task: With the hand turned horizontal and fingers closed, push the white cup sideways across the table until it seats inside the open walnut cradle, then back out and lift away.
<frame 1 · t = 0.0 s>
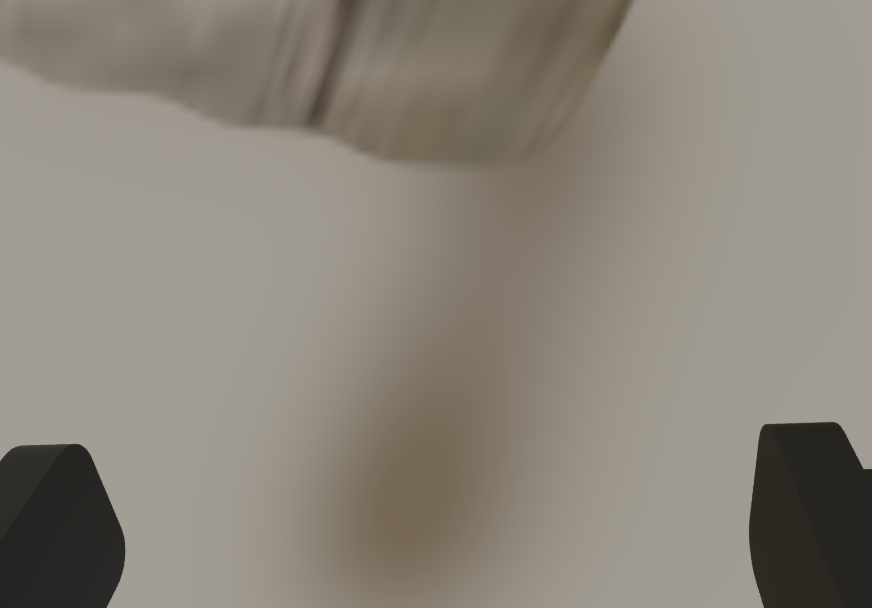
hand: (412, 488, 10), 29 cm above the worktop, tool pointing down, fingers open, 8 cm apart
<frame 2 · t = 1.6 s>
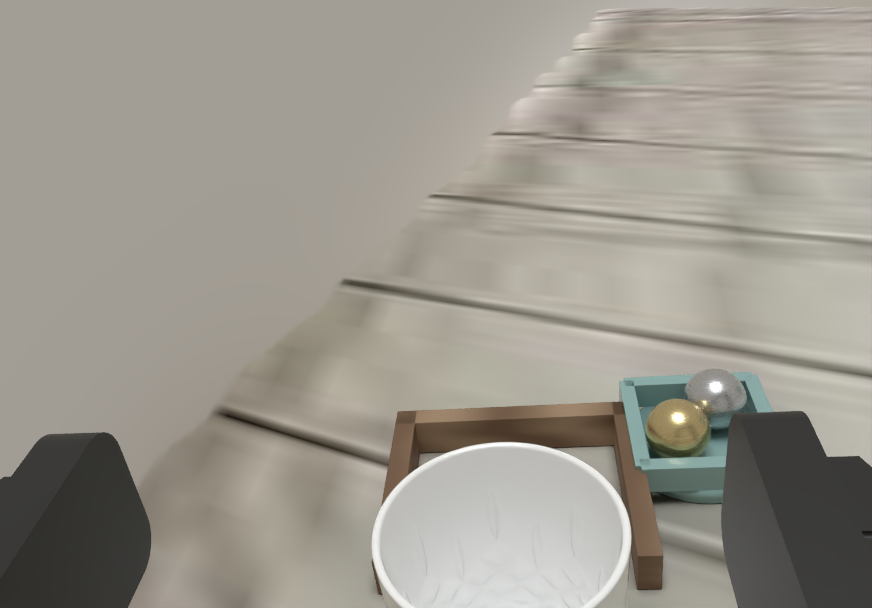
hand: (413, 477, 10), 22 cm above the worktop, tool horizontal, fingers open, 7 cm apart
cradle: (516, 517, 39), on the worktop
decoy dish: (697, 452, 42), on the worktop
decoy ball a: (714, 399, 41), point 2 cm above the worktop, tilted 19°, touching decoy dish
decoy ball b: (677, 430, 40), point 2 cm above the worktop, touching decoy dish
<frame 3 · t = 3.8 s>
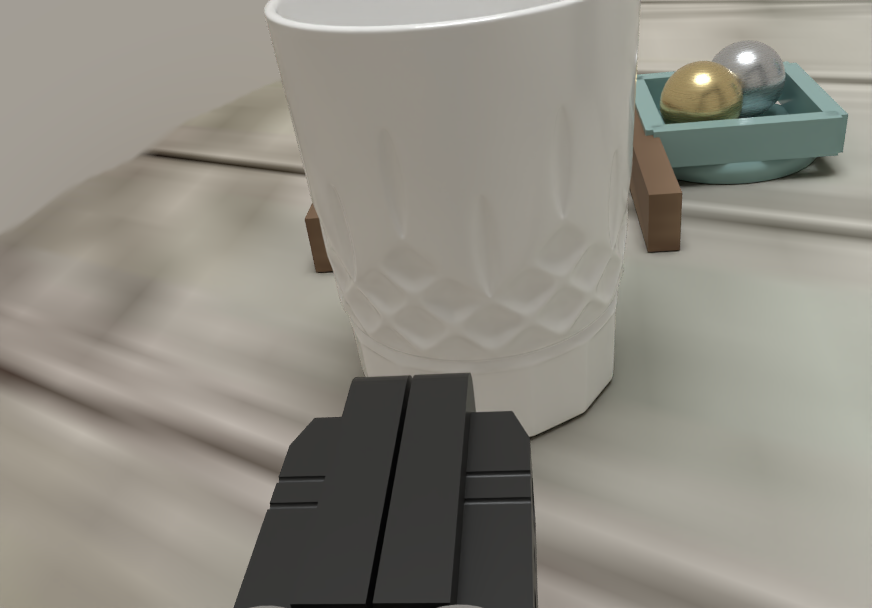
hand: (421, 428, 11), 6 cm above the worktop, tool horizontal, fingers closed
white cup: (488, 370, 23), on the worktop
cradle: (495, 206, 31), on the worktop
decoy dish: (722, 148, 33), on the worktop
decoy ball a: (744, 80, 33), point 2 cm above the worktop, tilted 18°, touching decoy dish
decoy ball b: (700, 102, 32), point 2 cm above the worktop, touching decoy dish
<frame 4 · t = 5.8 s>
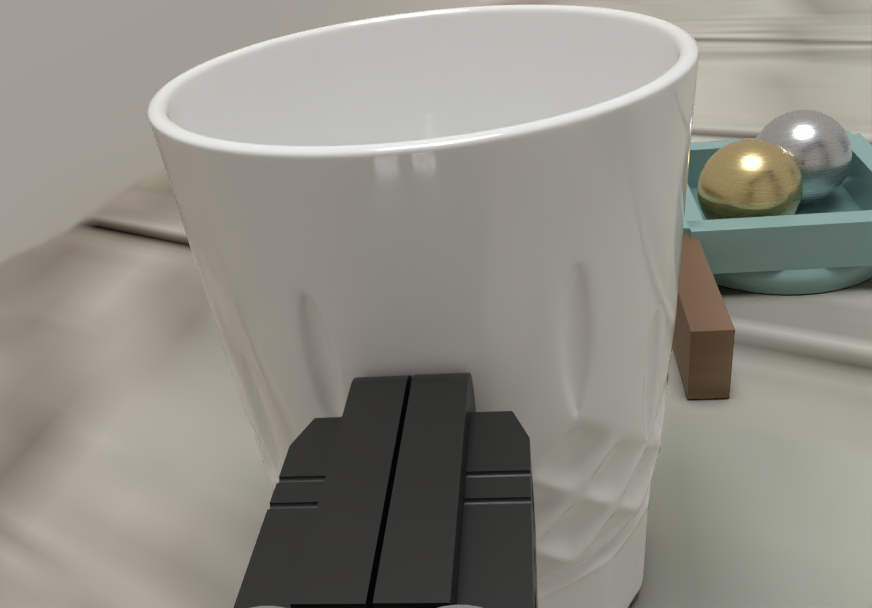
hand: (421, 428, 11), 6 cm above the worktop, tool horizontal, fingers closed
white cup: (476, 557, 17), on the worktop, touching gripper
cradle: (491, 317, 25), on the worktop
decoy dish: (771, 239, 27), on the worktop
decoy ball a: (800, 157, 27), point 2 cm above the worktop, tilted 17°, touching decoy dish
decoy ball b: (748, 189, 25), point 2 cm above the worktop, touching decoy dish
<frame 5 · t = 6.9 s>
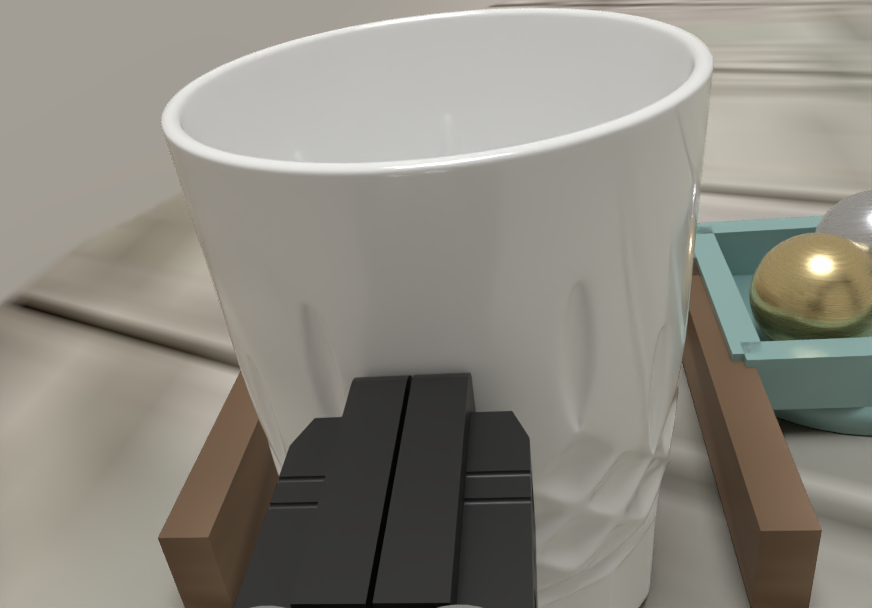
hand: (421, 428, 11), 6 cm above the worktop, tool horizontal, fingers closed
white cup: (485, 557, 17), on the worktop, touching gripper
cradle: (489, 459, 20), on the worktop
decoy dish: (837, 348, 22), on the worktop
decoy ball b: (815, 295, 20), point 2 cm above the worktop, touching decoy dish
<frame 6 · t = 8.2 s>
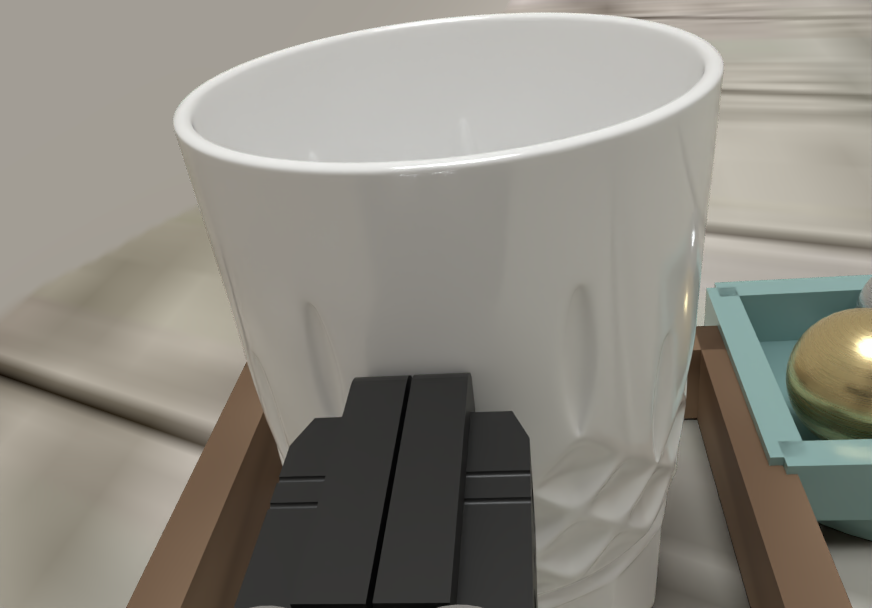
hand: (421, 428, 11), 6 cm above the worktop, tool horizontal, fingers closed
white cup: (491, 562, 17), on the worktop, touching gripper
cradle: (483, 574, 17), on the worktop
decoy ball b: (864, 380, 17), point 2 cm above the worktop, touching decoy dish
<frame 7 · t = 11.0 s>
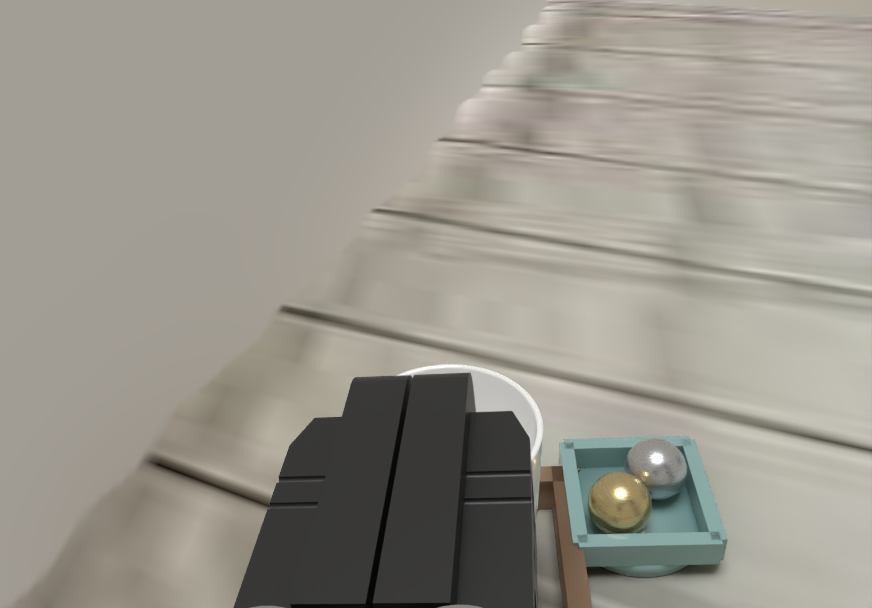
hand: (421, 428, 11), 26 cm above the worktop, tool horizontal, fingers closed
white cup: (456, 584, 39), on the worktop
cradle: (453, 590, 39), on the worktop
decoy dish: (634, 518, 42), on the worktop
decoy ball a: (655, 469, 41), point 2 cm above the worktop, tilted 13°, touching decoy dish
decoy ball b: (619, 504, 40), point 2 cm above the worktop, tilted 5°, touching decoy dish
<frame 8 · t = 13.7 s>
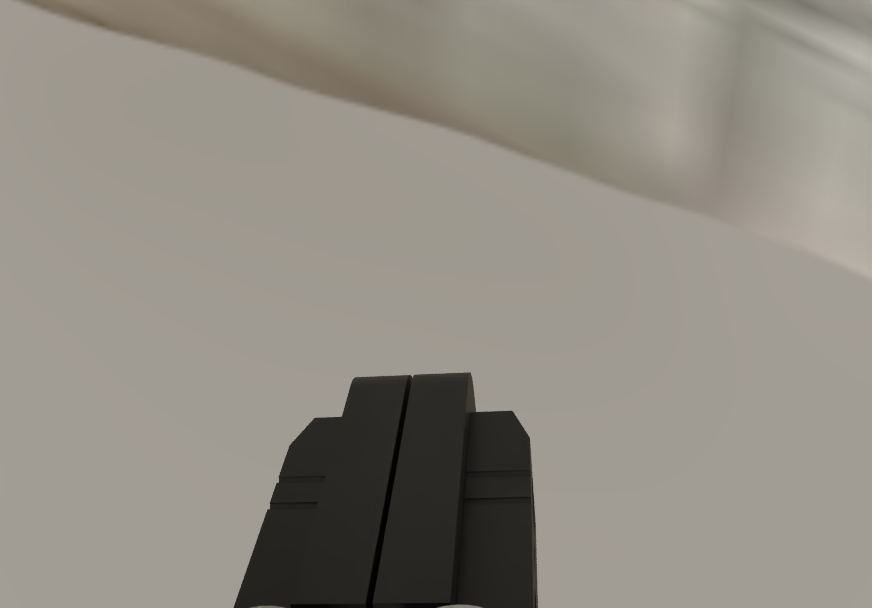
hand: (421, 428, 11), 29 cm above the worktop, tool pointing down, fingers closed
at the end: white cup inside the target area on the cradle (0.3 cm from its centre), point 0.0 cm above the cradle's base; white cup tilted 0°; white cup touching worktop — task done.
